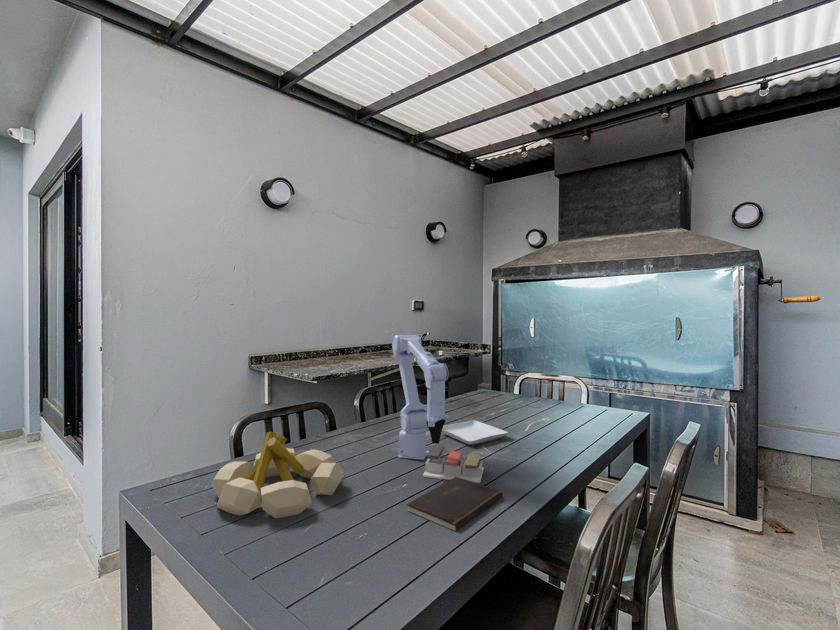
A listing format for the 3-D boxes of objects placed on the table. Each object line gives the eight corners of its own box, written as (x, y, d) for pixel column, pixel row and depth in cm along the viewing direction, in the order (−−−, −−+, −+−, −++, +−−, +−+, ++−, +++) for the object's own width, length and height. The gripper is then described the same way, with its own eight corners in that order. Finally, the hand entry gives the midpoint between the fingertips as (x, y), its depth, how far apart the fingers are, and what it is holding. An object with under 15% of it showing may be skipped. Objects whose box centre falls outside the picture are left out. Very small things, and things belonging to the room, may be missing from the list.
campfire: (282, 461, 145) (281, 412, 144) (362, 481, 129) (362, 426, 129) (185, 504, 114) (184, 442, 113) (275, 536, 98) (275, 464, 98)
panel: (422, 476, 132) (422, 466, 132) (430, 463, 142) (430, 454, 142) (480, 483, 127) (480, 472, 127) (483, 469, 138) (483, 459, 138)
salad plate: (509, 439, 170) (509, 431, 169) (469, 449, 158) (469, 440, 157) (474, 426, 187) (474, 419, 187) (436, 435, 175) (436, 426, 175)
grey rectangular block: (426, 467, 132) (426, 455, 132) (433, 456, 141) (433, 444, 141) (437, 468, 131) (438, 456, 131) (444, 457, 141) (444, 445, 140)
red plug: (445, 474, 130) (445, 461, 130) (451, 462, 140) (451, 450, 140) (456, 475, 129) (456, 462, 129) (461, 463, 139) (461, 451, 139)
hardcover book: (406, 512, 110) (406, 503, 110) (455, 483, 128) (455, 476, 128) (456, 534, 100) (456, 524, 100) (502, 500, 118) (502, 491, 118)
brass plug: (464, 477, 129) (464, 464, 129) (468, 465, 139) (469, 453, 138) (476, 478, 128) (476, 465, 128) (479, 466, 138) (479, 454, 138)
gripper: (443, 407, 128) (443, 451, 128) (452, 397, 142) (451, 436, 142) (421, 405, 129) (421, 449, 130) (431, 395, 143) (431, 435, 144)
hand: (435, 442), depth 136 cm, fingers closed
